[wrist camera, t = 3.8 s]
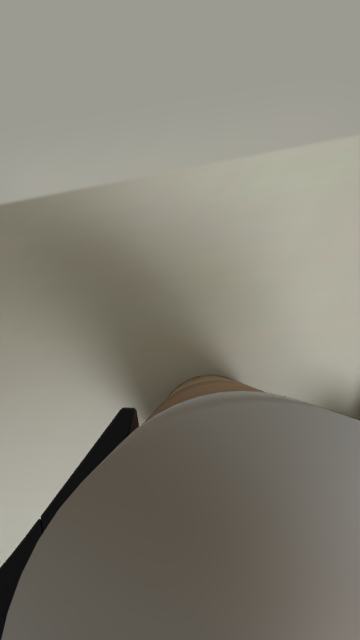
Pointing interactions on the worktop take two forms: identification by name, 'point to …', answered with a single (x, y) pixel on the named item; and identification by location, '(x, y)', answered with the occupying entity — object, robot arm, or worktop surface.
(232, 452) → the round tan cylinder
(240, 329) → the worktop surface
